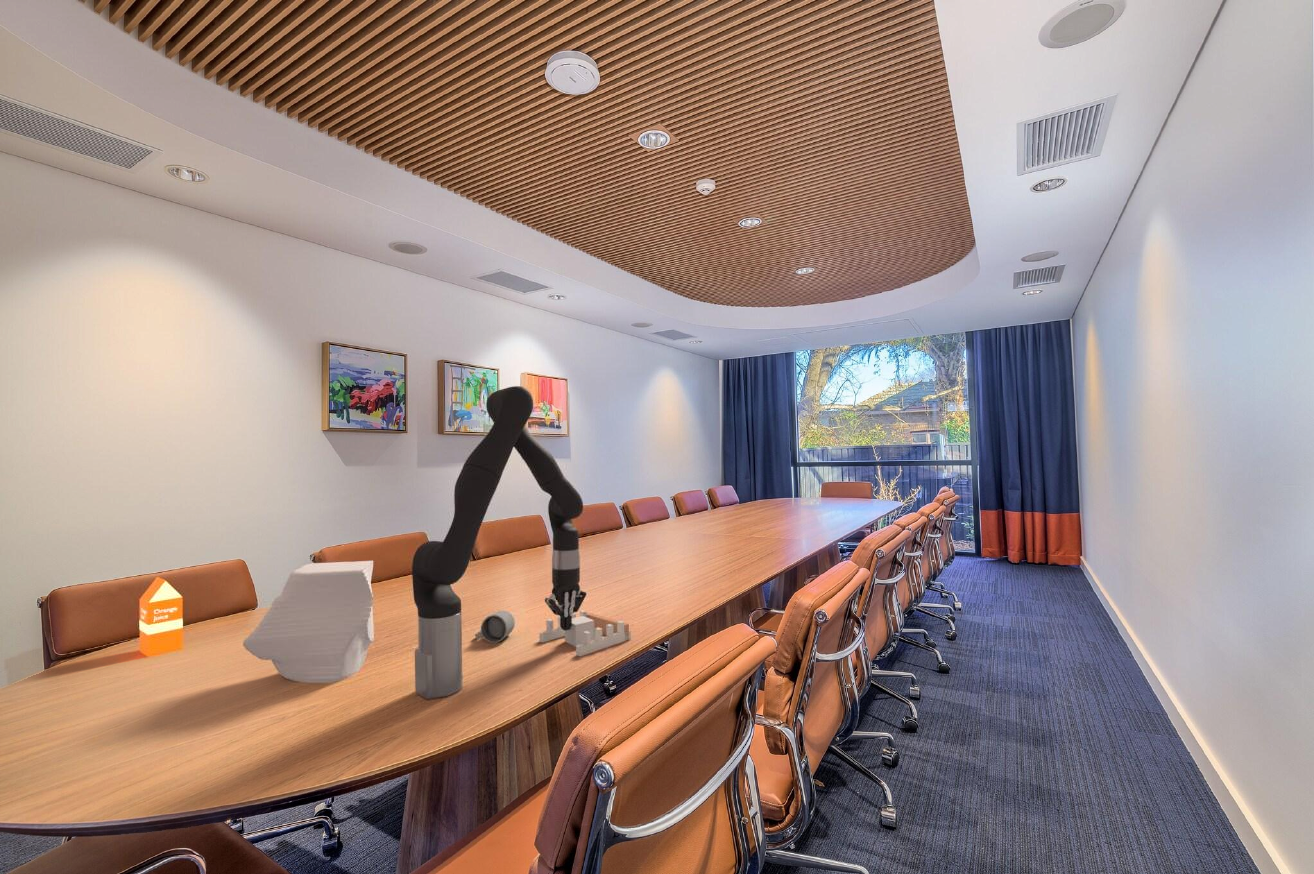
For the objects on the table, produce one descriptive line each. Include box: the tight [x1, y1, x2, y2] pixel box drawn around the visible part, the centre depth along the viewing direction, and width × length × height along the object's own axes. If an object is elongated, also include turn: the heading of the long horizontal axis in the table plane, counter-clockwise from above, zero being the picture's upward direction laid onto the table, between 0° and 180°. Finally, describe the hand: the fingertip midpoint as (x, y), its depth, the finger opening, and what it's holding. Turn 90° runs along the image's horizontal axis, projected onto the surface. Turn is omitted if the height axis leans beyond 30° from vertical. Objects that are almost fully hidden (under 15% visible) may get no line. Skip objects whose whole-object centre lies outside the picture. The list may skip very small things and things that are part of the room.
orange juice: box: [138, 576, 184, 658], centre depth 164 cm, size 8×9×20 cm
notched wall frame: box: [539, 609, 632, 657], centre depth 164 cm, size 18×18×5 cm
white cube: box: [564, 616, 595, 648], centre depth 163 cm, size 6×6×6 cm
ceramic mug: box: [474, 610, 516, 644], centre depth 168 cm, size 11×8×8 cm
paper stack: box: [242, 560, 375, 684], centre depth 147 cm, size 21×27×26 cm
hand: (566, 629), depth 160 cm, fingers closed
